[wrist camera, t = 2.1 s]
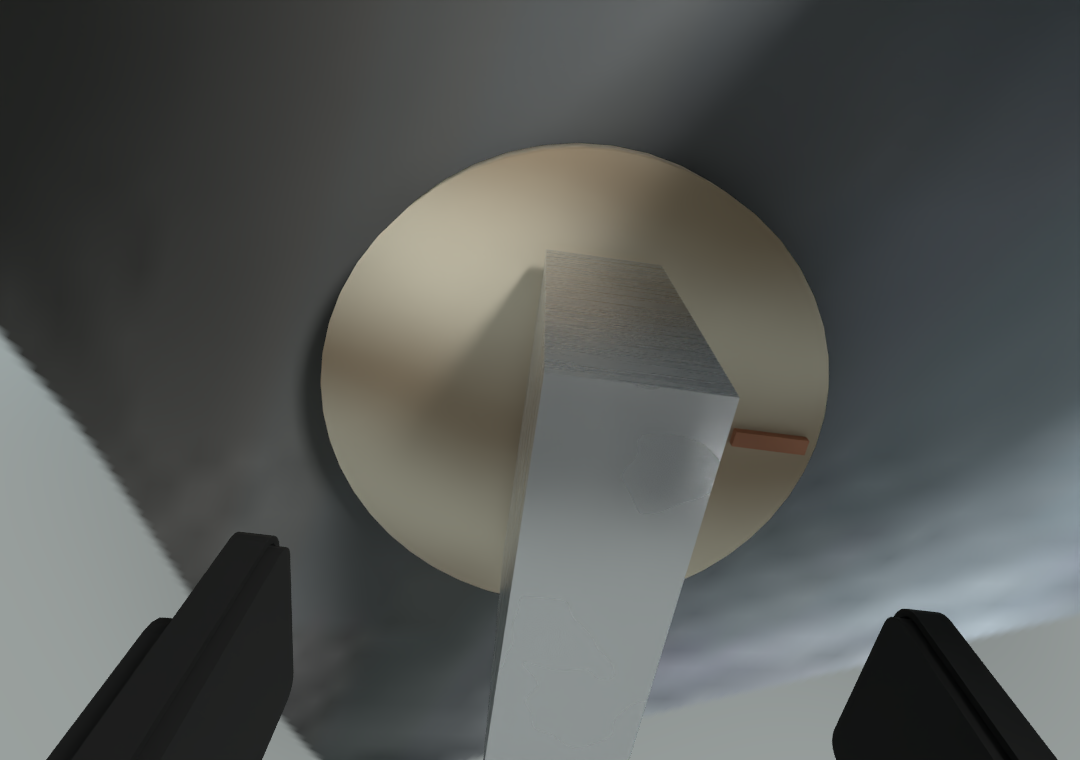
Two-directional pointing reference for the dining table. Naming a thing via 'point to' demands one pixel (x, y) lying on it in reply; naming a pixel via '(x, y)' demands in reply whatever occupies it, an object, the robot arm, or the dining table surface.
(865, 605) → the dining table surface
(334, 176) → the dining table surface
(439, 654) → the dining table surface
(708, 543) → the dial base
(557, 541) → the dial knob
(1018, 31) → the dining table surface
